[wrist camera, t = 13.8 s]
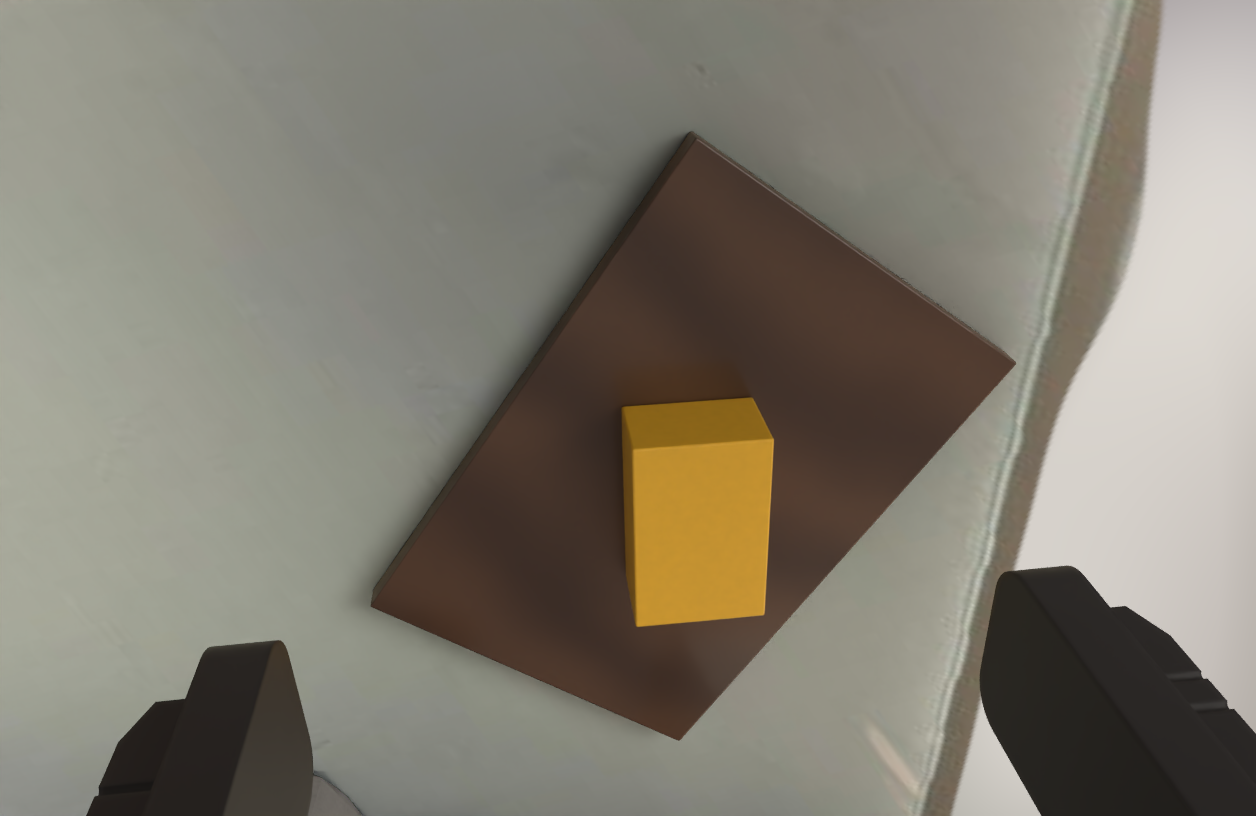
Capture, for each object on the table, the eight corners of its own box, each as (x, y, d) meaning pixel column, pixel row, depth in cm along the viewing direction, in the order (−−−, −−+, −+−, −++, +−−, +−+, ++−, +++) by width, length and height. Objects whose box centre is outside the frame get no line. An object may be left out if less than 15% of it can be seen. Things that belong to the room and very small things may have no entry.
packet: (621, 405, 33) (631, 450, 31) (753, 396, 34) (775, 439, 31) (625, 575, 36) (635, 628, 34) (745, 564, 37) (765, 616, 34)
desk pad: (690, 130, 30) (696, 137, 29) (1004, 351, 35) (1017, 363, 34) (372, 589, 37) (369, 606, 36) (675, 723, 42) (679, 741, 41)
